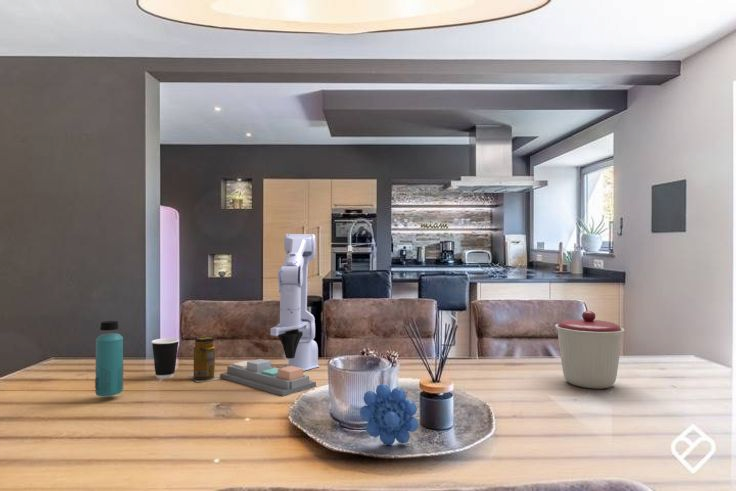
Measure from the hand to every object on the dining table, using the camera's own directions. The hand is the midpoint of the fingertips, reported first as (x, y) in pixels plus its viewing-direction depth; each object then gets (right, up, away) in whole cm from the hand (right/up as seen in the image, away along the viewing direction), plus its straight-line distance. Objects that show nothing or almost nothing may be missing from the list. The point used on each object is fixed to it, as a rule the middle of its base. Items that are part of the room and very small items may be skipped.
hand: (290, 357), depth 130 cm
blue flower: (+26, -8, -40) cm, 48 cm away
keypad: (-8, -9, +6) cm, 13 cm away
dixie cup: (-40, -9, +12) cm, 43 cm away
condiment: (-28, -9, +11) cm, 31 cm away
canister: (+86, -9, +5) cm, 86 cm away
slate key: (-11, -6, +9) cm, 15 cm away
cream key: (-16, -7, +13) cm, 22 cm away
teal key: (-5, -7, +4) cm, 10 cm away
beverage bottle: (-45, -8, -10) cm, 47 cm away
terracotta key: (0, -5, 0) cm, 5 cm away
